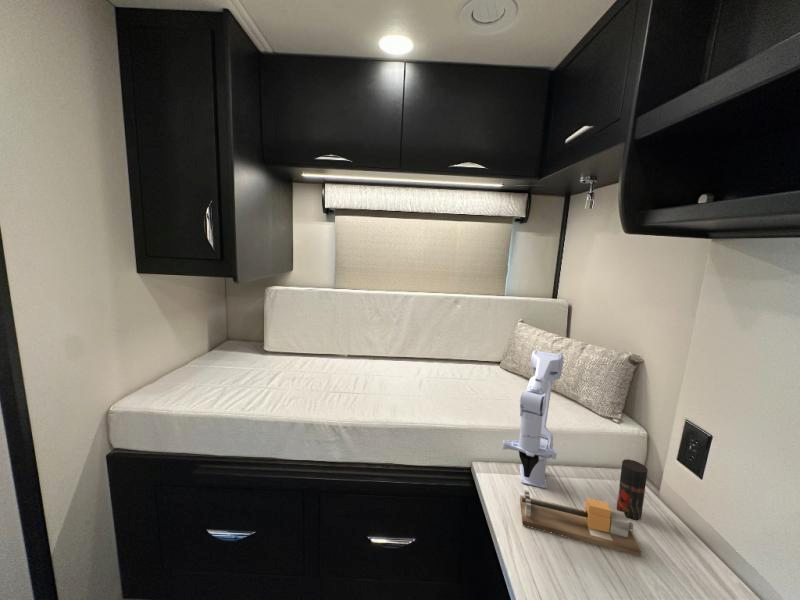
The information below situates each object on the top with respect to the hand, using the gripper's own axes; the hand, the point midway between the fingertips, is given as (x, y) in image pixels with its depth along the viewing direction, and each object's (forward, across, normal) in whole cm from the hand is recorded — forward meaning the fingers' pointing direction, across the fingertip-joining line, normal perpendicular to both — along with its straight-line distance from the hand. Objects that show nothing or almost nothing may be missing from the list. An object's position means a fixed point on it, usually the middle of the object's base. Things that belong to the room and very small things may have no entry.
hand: (526, 475), depth 92 cm
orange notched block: (+8, +18, -3) cm, 20 cm away
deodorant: (+10, +30, +8) cm, 33 cm away
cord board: (+10, +13, -3) cm, 17 cm away
